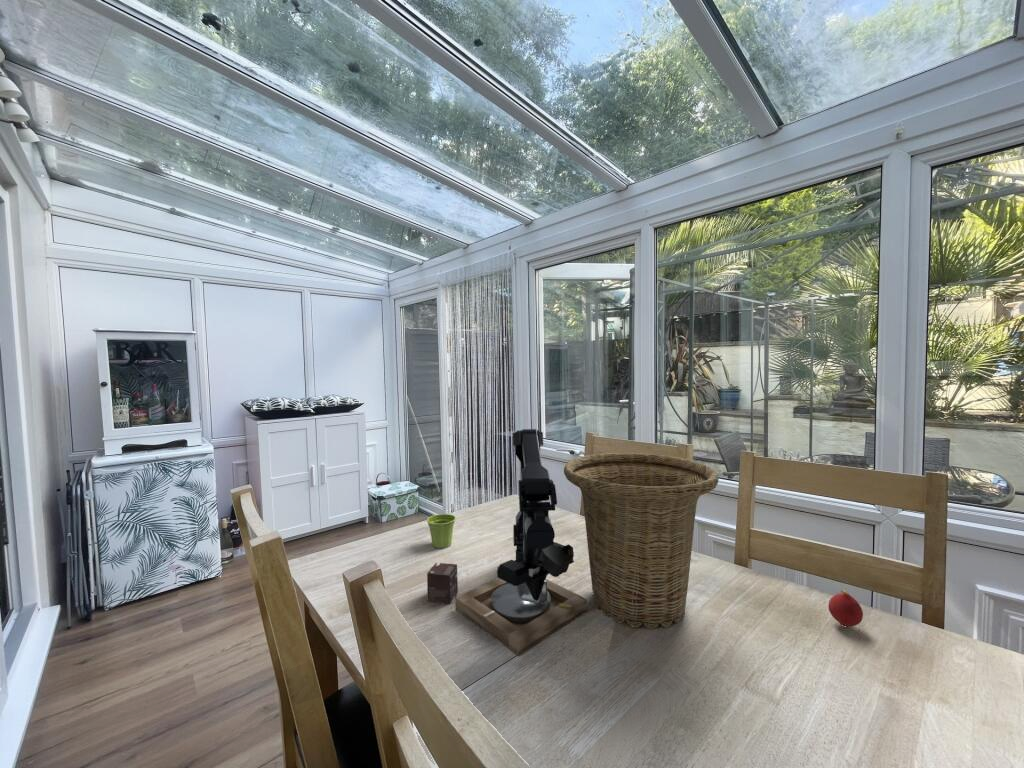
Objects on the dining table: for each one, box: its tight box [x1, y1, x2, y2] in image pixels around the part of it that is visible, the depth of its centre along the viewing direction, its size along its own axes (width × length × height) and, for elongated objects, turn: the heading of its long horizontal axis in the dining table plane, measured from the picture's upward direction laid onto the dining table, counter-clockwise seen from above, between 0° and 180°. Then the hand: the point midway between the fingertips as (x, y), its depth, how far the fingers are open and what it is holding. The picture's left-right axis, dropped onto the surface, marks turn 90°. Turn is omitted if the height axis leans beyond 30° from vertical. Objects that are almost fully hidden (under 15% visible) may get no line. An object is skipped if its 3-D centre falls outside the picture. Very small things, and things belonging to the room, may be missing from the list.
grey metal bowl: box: [491, 578, 551, 624], centre depth 98 cm, size 14×14×7 cm
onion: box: [827, 589, 864, 628], centre depth 91 cm, size 6×6×8 cm
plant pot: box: [426, 513, 457, 549], centre depth 136 cm, size 9×9×9 cm
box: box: [426, 562, 459, 605], centre depth 105 cm, size 6×6×7 cm
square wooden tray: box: [454, 577, 588, 657], centre depth 98 cm, size 22×22×3 cm
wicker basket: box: [563, 452, 719, 630], centre depth 101 cm, size 35×35×33 cm
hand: (535, 599), depth 94 cm, fingers closed
